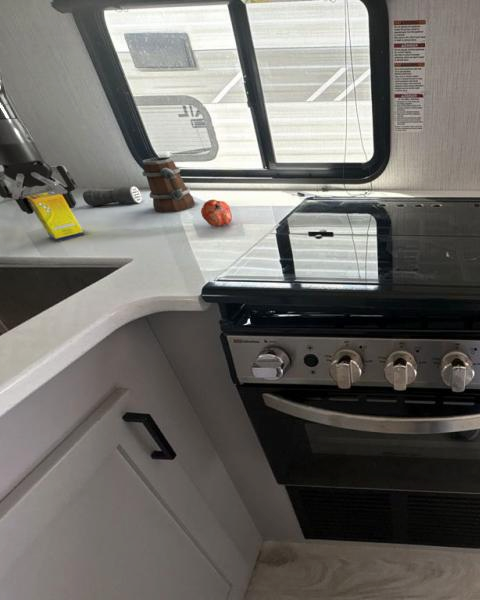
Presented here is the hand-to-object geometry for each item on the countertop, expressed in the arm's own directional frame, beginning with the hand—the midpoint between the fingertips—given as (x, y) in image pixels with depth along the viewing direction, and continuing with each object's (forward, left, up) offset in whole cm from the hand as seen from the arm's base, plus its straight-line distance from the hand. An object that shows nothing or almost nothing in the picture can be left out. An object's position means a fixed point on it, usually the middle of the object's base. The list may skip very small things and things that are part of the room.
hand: (52, 210), depth 85 cm
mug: (+26, +13, -7) cm, 30 cm away
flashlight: (+7, +31, -7) cm, 33 cm away
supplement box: (0, 0, -7) cm, 7 cm away
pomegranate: (+37, -13, -7) cm, 40 cm away
